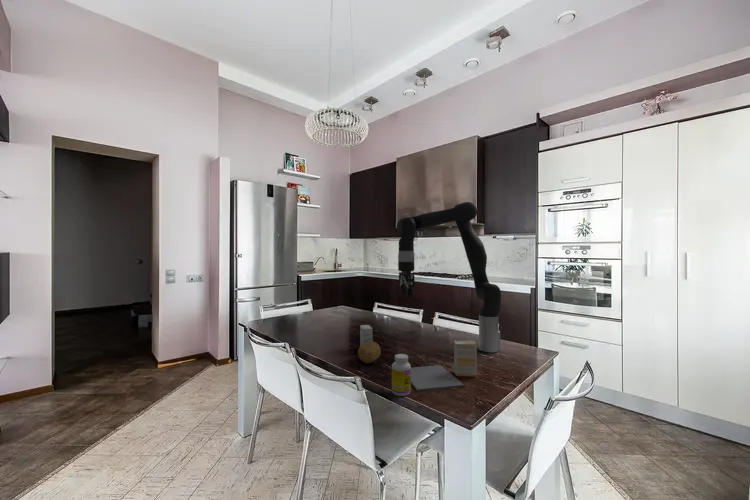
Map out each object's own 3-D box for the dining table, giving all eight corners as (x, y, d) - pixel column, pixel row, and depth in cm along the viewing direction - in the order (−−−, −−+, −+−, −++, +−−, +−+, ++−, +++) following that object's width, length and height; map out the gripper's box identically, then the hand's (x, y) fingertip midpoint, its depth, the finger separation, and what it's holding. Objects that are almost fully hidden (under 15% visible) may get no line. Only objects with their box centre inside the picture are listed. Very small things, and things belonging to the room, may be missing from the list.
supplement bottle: (405, 398, 108) (405, 360, 108) (388, 394, 111) (388, 357, 111) (413, 391, 113) (414, 355, 113) (397, 386, 117) (397, 351, 117)
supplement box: (474, 372, 131) (474, 340, 131) (476, 377, 126) (477, 344, 126) (453, 371, 131) (453, 339, 131) (455, 376, 127) (455, 343, 127)
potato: (352, 366, 137) (352, 347, 137) (364, 355, 151) (364, 338, 151) (373, 369, 134) (373, 350, 134) (384, 358, 147) (384, 341, 147)
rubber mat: (440, 366, 137) (440, 365, 137) (463, 386, 118) (463, 384, 118) (400, 369, 133) (400, 368, 133) (417, 390, 114) (417, 389, 114)
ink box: (373, 352, 155) (373, 328, 155) (362, 353, 154) (362, 329, 153) (369, 347, 163) (369, 324, 163) (359, 348, 162) (359, 324, 162)
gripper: (419, 261, 143) (420, 297, 143) (408, 260, 157) (408, 293, 157) (404, 261, 141) (404, 298, 141) (393, 260, 155) (393, 293, 155)
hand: (406, 295), depth 149 cm, fingers open, 8 cm apart
